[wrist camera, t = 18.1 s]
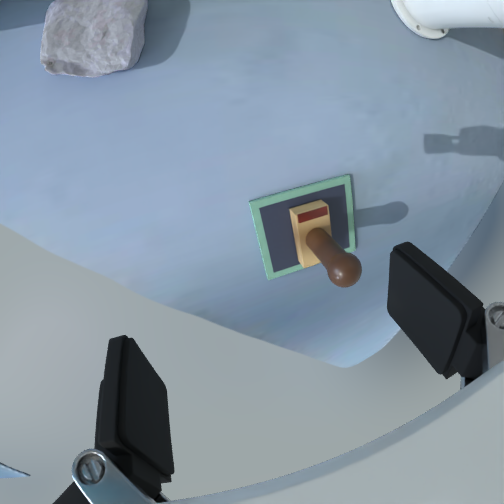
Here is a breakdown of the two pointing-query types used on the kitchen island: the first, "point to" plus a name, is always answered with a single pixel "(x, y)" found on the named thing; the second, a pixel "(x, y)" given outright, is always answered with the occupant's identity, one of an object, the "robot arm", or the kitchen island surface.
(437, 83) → the kitchen island surface
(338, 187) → the ink pad
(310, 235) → the stamp
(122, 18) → the stone block
